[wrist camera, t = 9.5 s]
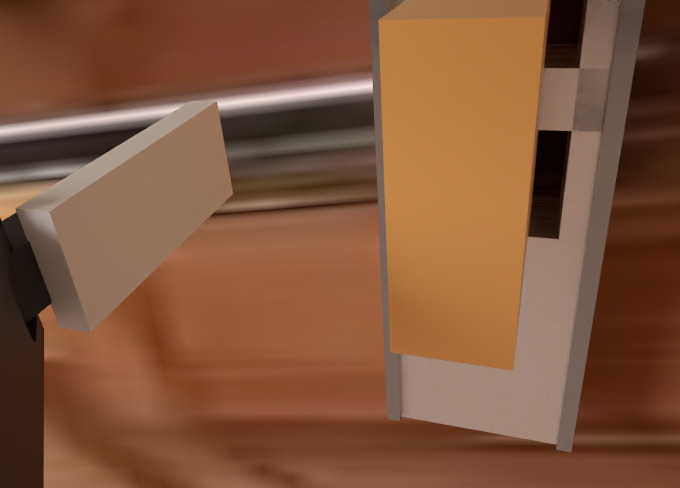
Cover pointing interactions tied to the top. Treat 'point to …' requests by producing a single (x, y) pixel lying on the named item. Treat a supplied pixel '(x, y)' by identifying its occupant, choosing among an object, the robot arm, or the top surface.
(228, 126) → the top surface
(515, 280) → the tall orange block
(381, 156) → the rail
